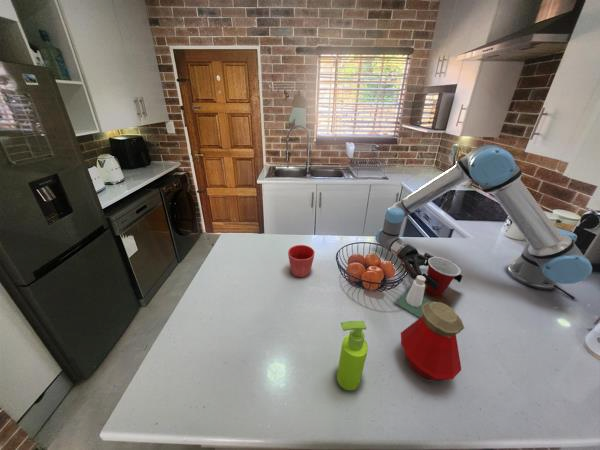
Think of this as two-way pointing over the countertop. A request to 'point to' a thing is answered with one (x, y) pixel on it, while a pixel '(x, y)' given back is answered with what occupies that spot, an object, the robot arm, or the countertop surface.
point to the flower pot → (301, 260)
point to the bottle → (433, 343)
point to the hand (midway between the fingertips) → (449, 283)
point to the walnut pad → (443, 296)
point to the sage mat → (413, 310)
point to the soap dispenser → (352, 355)
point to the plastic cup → (441, 273)
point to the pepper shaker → (416, 292)
